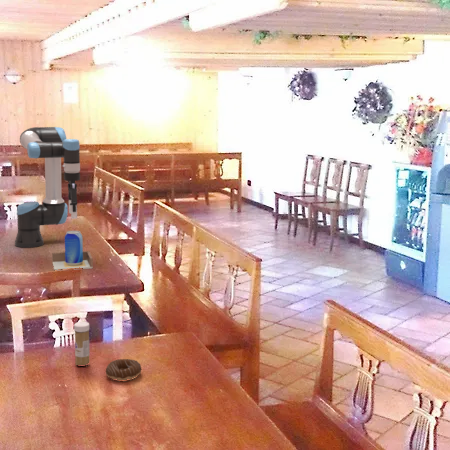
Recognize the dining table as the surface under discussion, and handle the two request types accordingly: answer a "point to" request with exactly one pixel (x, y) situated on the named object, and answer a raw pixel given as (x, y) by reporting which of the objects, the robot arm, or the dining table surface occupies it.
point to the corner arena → (60, 263)
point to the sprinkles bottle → (81, 343)
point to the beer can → (73, 248)
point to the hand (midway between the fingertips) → (73, 215)
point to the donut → (123, 369)
